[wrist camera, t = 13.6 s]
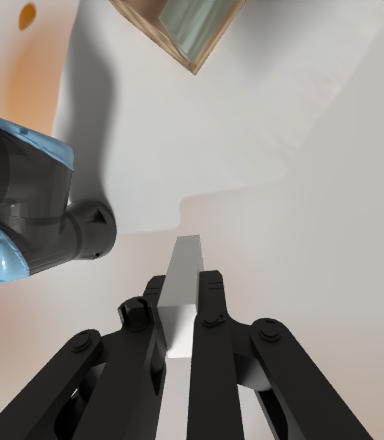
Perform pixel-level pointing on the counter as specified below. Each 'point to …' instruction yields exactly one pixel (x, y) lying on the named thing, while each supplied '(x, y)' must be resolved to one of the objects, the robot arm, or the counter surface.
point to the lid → (183, 20)
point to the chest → (169, 44)
